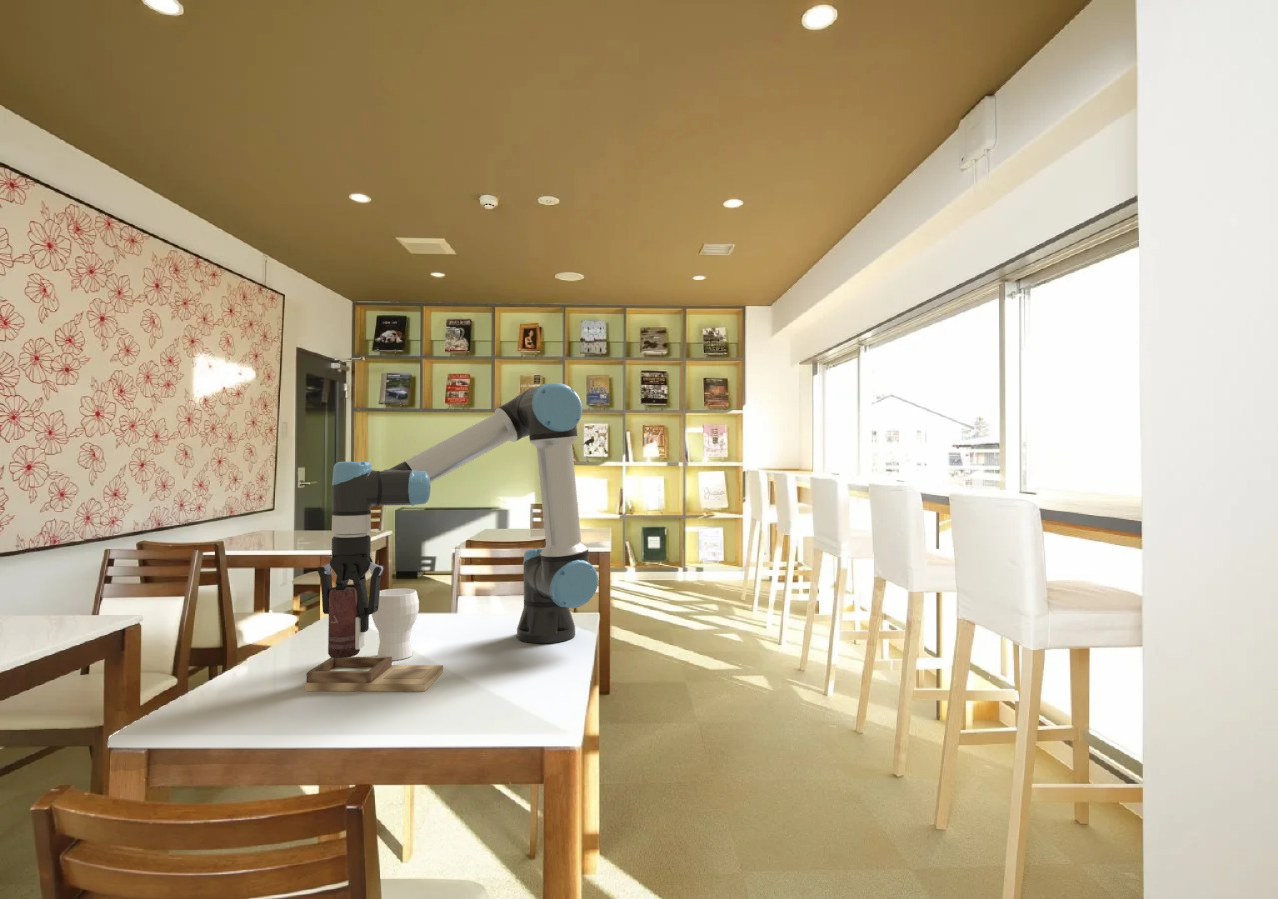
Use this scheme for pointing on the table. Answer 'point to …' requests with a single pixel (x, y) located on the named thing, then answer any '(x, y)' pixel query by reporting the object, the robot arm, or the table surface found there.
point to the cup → (396, 622)
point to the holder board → (370, 675)
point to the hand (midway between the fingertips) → (350, 647)
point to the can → (342, 622)
